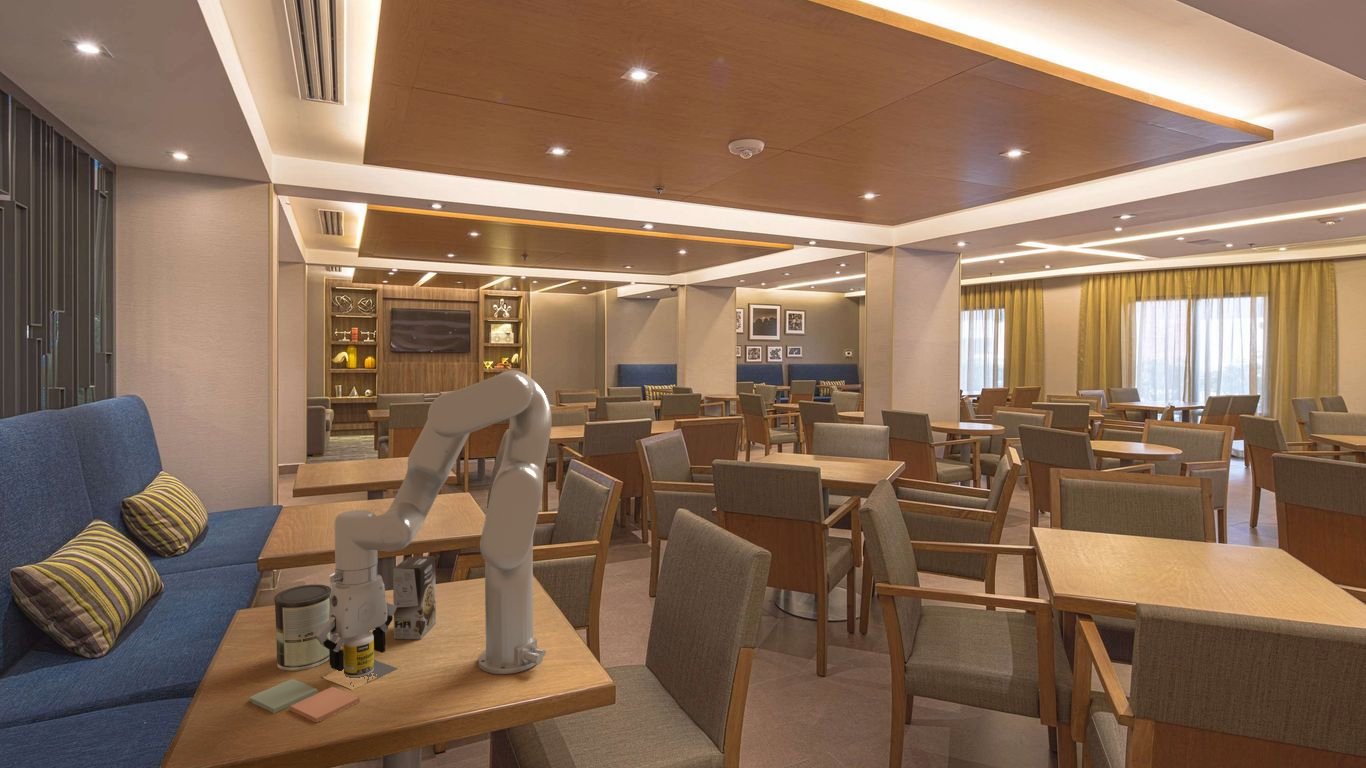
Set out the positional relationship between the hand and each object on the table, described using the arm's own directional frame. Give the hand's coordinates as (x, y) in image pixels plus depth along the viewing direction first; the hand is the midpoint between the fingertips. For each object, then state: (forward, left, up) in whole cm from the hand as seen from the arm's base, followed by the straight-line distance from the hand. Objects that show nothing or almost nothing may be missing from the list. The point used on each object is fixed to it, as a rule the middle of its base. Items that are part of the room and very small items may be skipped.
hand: (358, 659), depth 136 cm
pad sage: (+3, +13, -3) cm, 14 cm away
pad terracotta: (-6, +11, -3) cm, 13 cm away
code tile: (0, 0, -3) cm, 3 cm away
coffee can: (+15, +2, -3) cm, 15 cm away
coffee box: (+7, -19, -3) cm, 21 cm away
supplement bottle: (0, 0, -3) cm, 3 cm away
